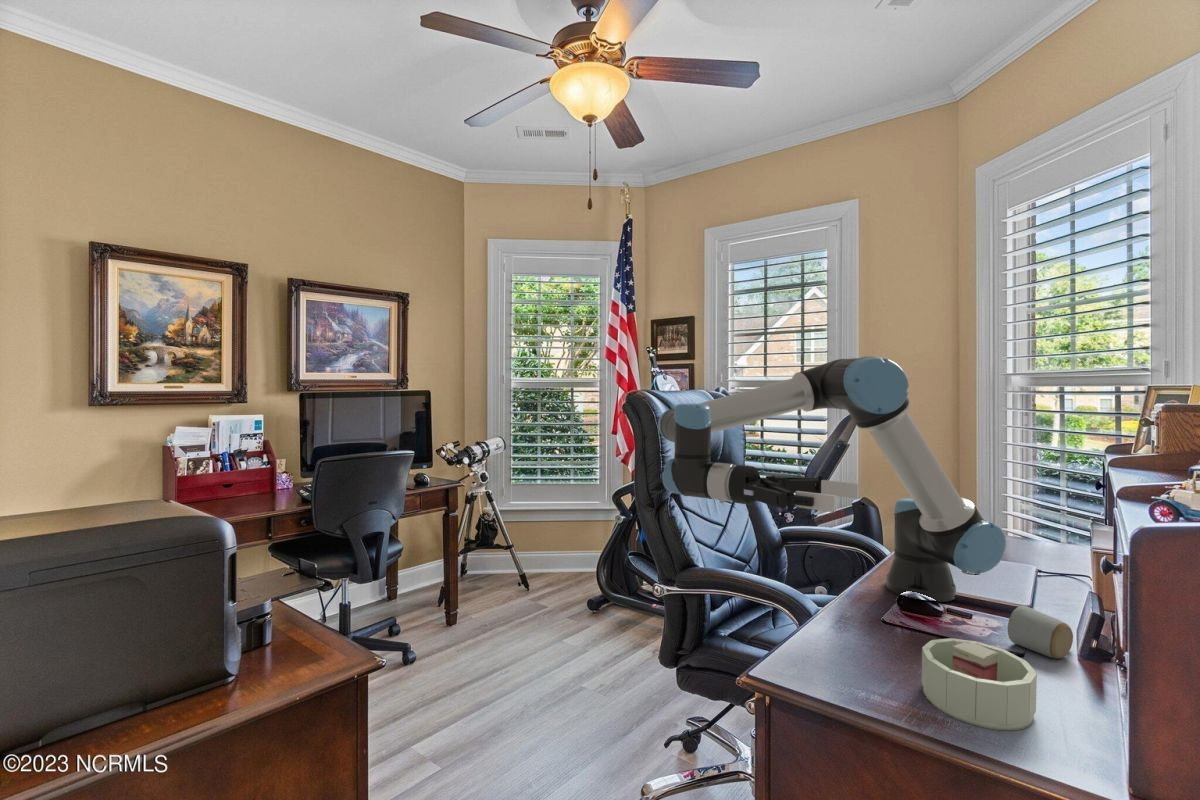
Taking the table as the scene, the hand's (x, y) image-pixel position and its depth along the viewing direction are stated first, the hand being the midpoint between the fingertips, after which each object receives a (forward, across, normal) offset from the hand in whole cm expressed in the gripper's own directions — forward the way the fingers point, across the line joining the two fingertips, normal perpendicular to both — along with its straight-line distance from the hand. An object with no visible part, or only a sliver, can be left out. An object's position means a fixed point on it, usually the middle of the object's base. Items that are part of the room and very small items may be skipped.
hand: (847, 497), depth 99 cm
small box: (+19, -5, -31) cm, 37 cm away
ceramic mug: (+27, -34, -32) cm, 54 cm away
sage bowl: (+19, -5, -32) cm, 38 cm away
